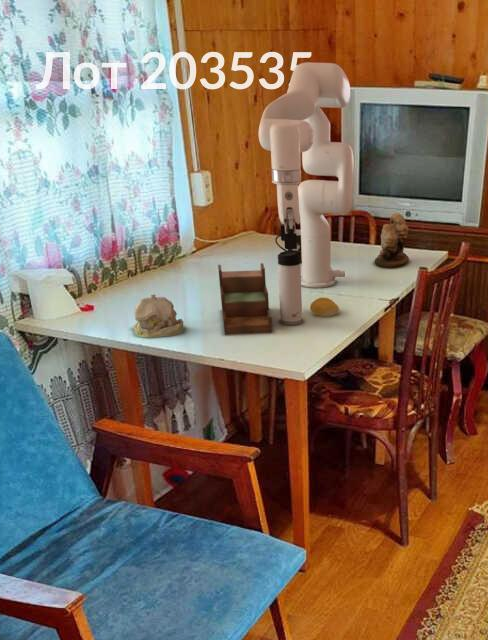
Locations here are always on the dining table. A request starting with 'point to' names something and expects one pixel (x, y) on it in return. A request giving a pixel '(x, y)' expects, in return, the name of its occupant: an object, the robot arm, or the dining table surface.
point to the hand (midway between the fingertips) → (288, 244)
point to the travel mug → (290, 287)
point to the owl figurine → (393, 243)
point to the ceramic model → (156, 318)
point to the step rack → (244, 301)
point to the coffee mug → (298, 234)
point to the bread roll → (324, 307)
